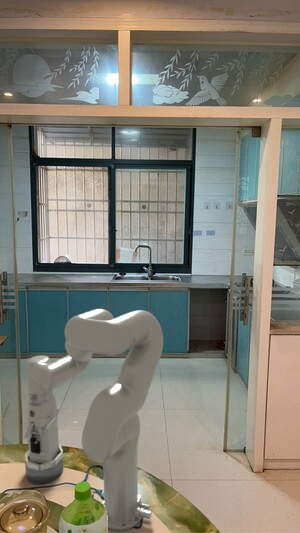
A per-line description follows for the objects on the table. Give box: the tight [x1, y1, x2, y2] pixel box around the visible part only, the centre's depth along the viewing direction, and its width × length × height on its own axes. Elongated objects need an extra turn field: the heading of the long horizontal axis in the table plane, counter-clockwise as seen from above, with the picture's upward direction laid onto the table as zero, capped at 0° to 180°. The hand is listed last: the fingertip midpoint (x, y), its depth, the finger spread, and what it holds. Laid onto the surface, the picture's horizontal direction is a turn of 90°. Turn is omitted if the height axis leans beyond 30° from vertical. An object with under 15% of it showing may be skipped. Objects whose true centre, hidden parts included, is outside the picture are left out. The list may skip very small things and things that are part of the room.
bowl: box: [24, 444, 64, 486], centre depth 121 cm, size 12×12×7 cm
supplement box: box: [26, 415, 60, 463], centre depth 119 cm, size 7×7×13 cm
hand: (43, 444), depth 120 cm, fingers closed on supplement box, 7 cm apart
